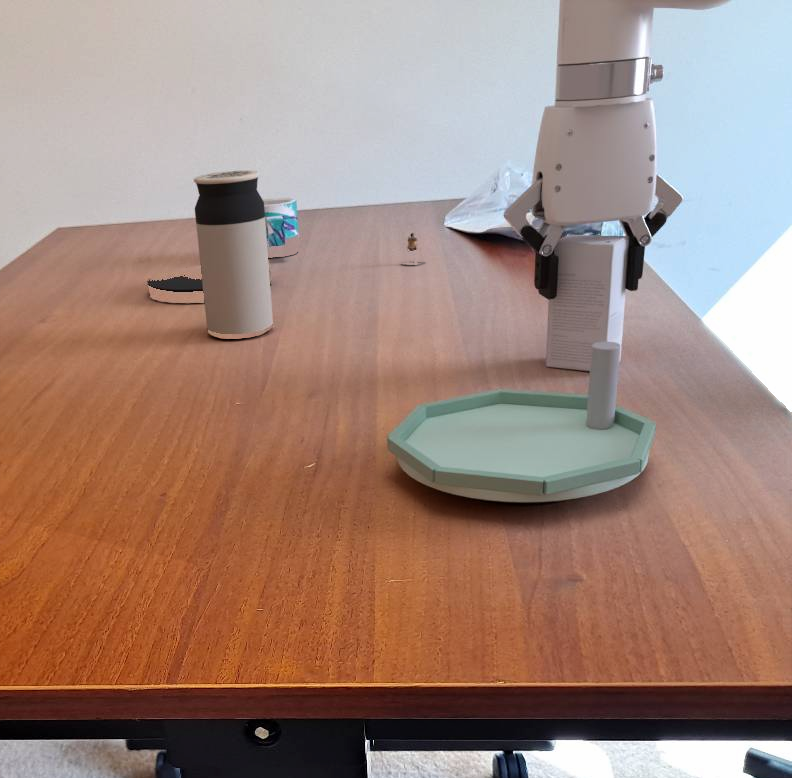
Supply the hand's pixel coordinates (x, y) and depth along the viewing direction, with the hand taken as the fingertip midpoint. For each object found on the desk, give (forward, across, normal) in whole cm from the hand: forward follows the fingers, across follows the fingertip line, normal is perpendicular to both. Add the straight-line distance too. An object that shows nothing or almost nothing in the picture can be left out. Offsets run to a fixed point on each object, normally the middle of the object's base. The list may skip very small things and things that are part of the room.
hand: (587, 290), depth 92 cm
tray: (+6, +14, +24) cm, 28 cm away
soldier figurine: (+7, +4, -56) cm, 57 cm away
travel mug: (+7, +32, -26) cm, 42 cm away
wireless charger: (+7, +35, -52) cm, 63 cm away
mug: (+7, +23, -73) cm, 77 cm away
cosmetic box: (+7, 0, 0) cm, 7 cm away
